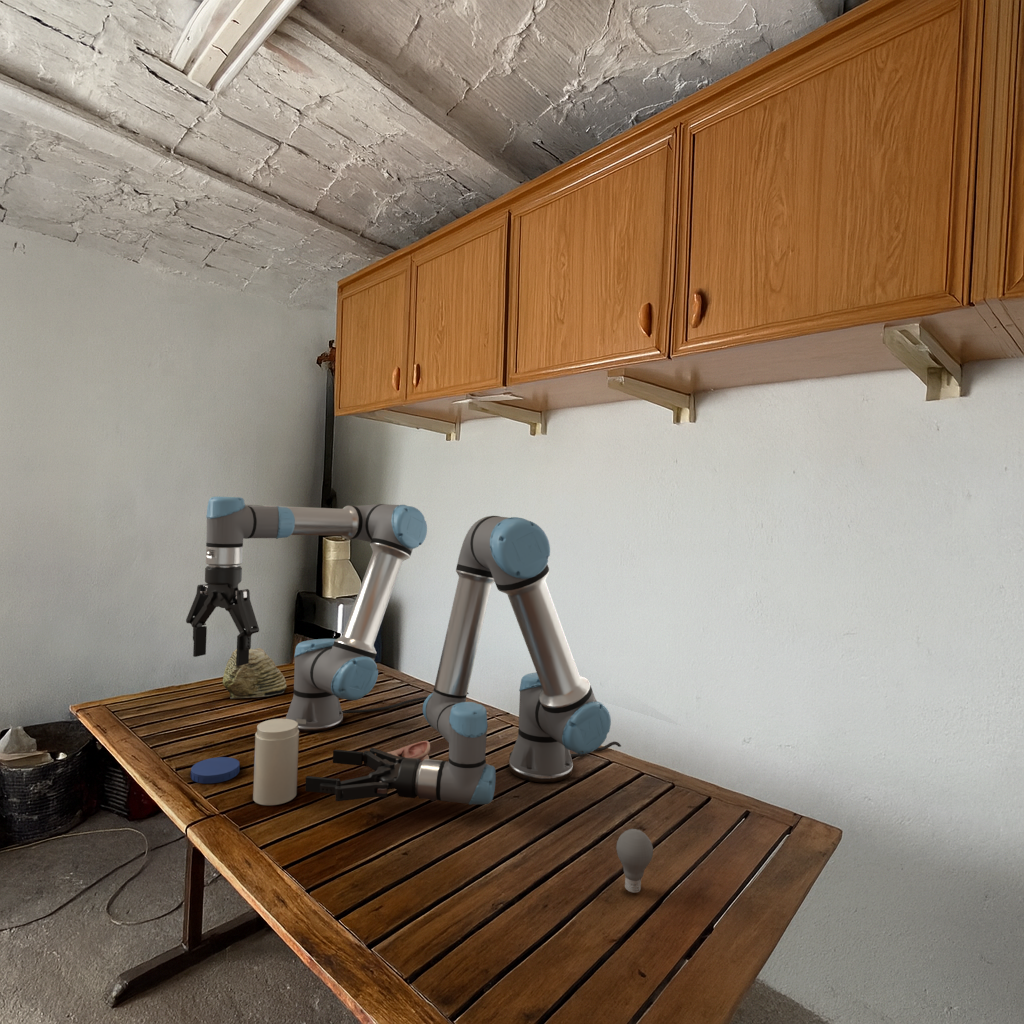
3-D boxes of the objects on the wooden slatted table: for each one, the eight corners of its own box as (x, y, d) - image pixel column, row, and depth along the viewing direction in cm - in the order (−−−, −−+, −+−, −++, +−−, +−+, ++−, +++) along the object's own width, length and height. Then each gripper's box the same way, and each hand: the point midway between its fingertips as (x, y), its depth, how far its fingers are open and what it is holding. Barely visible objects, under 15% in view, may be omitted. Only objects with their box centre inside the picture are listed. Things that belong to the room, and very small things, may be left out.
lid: (186, 770, 143) (187, 762, 143) (233, 761, 149) (234, 753, 149) (195, 787, 135) (195, 779, 135) (244, 777, 141) (244, 769, 141)
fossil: (218, 695, 195) (220, 647, 195) (278, 685, 208) (279, 640, 207) (228, 703, 189) (230, 653, 188) (289, 692, 201) (290, 645, 201)
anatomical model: (365, 751, 148) (384, 733, 160) (364, 767, 148) (384, 749, 160) (419, 758, 146) (435, 740, 157) (418, 775, 146) (434, 756, 157)
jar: (302, 786, 138) (304, 718, 138) (288, 806, 129) (291, 733, 129) (262, 785, 138) (264, 717, 137) (246, 804, 129) (248, 731, 129)
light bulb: (610, 879, 108) (613, 822, 108) (644, 879, 109) (647, 822, 109) (619, 902, 102) (622, 840, 102) (655, 901, 103) (658, 840, 103)
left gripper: (171, 562, 144) (167, 655, 144) (251, 571, 133) (247, 672, 133) (199, 559, 150) (196, 648, 151) (278, 568, 140) (274, 664, 140)
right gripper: (401, 827, 117) (292, 816, 120) (433, 771, 142) (342, 762, 145) (402, 787, 117) (293, 777, 120) (434, 737, 142) (344, 730, 145)
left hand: (220, 660), depth 142 cm, fingers open, 13 cm apart
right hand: (320, 769), depth 132 cm, fingers open, 13 cm apart
